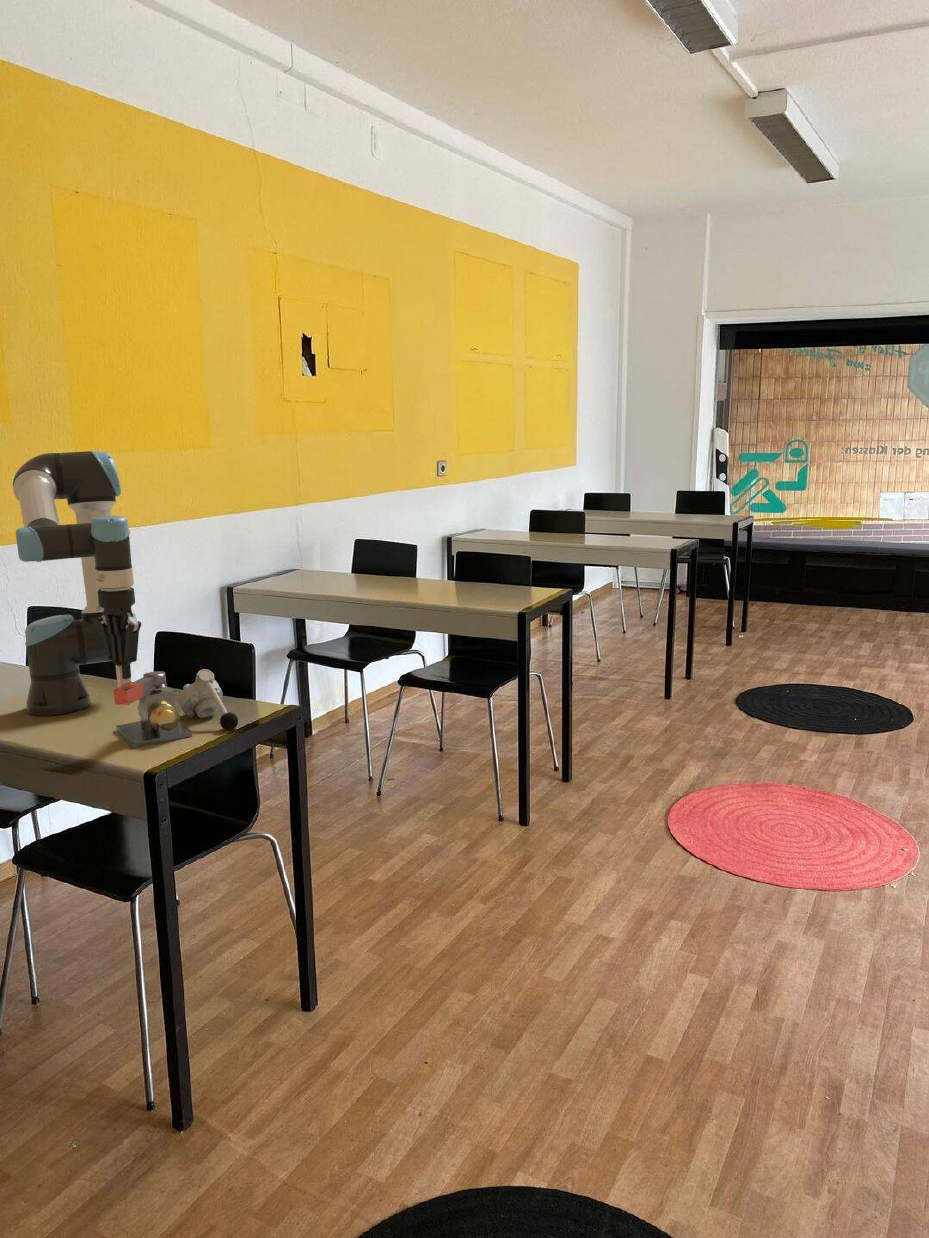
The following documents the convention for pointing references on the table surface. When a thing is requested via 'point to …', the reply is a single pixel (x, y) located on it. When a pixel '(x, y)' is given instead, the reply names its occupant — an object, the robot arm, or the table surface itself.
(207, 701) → the mechanical valve
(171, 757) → the table surface
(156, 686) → the lever
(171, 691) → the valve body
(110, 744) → the table surface
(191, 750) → the table surface
